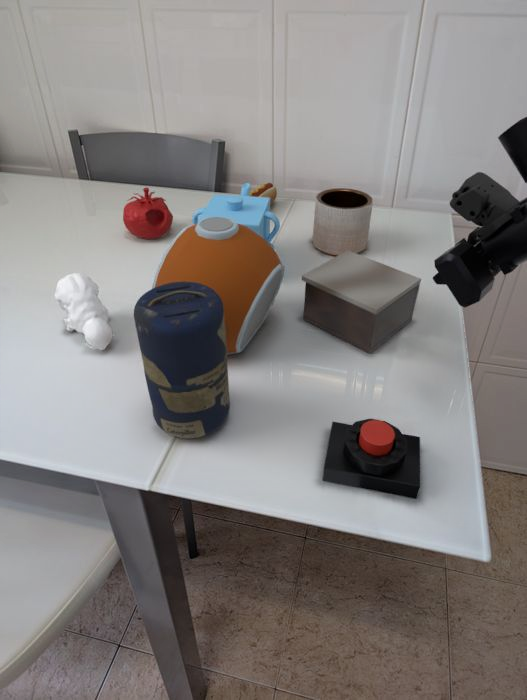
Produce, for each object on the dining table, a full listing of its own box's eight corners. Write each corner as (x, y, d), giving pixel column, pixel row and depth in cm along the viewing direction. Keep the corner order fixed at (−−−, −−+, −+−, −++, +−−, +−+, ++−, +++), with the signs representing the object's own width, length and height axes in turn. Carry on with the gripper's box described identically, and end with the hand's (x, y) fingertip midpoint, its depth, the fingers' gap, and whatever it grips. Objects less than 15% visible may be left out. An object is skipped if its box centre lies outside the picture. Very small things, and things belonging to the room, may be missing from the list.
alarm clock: (201, 288, 86) (193, 189, 75) (296, 310, 80) (302, 207, 70) (138, 351, 72) (116, 241, 61) (247, 383, 66) (245, 268, 56)
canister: (230, 443, 58) (223, 317, 47) (149, 446, 58) (122, 319, 47) (230, 388, 66) (224, 267, 55) (158, 390, 65) (137, 269, 54)
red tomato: (116, 239, 101) (107, 194, 95) (142, 220, 108) (136, 177, 102) (159, 247, 98) (153, 201, 92) (183, 227, 105) (178, 183, 100)
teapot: (274, 285, 86) (275, 215, 78) (187, 278, 88) (180, 209, 80) (286, 240, 100) (288, 177, 92) (211, 235, 102) (207, 172, 94)
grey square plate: (301, 280, 75) (301, 275, 74) (347, 254, 81) (347, 250, 81) (376, 314, 67) (377, 309, 67) (420, 283, 74) (421, 278, 73)
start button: (392, 434, 55) (395, 423, 54) (391, 459, 52) (394, 447, 51) (360, 428, 55) (362, 417, 54) (357, 452, 53) (359, 441, 51)
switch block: (416, 449, 58) (423, 425, 55) (416, 499, 52) (424, 475, 50) (330, 434, 59) (333, 410, 57) (322, 480, 54) (325, 456, 52)
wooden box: (303, 319, 78) (305, 282, 74) (346, 291, 85) (351, 256, 81) (369, 354, 72) (376, 315, 67) (411, 321, 78) (420, 283, 74)
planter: (364, 234, 103) (371, 188, 97) (369, 258, 94) (376, 210, 88) (312, 231, 104) (315, 186, 98) (311, 256, 95) (315, 208, 89)
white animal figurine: (89, 262, 75) (119, 305, 67) (99, 307, 80) (128, 351, 73) (46, 274, 72) (73, 320, 65) (59, 319, 78) (85, 366, 70)
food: (250, 224, 106) (250, 202, 103) (229, 219, 108) (228, 197, 105) (281, 203, 116) (281, 182, 113) (260, 198, 118) (260, 177, 115)
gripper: (540, 135, 57) (435, 206, 70) (470, 179, 47) (362, 254, 59) (592, 216, 58) (478, 272, 70) (534, 278, 47) (412, 331, 60)
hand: (435, 280), depth 65 cm, fingers closed
